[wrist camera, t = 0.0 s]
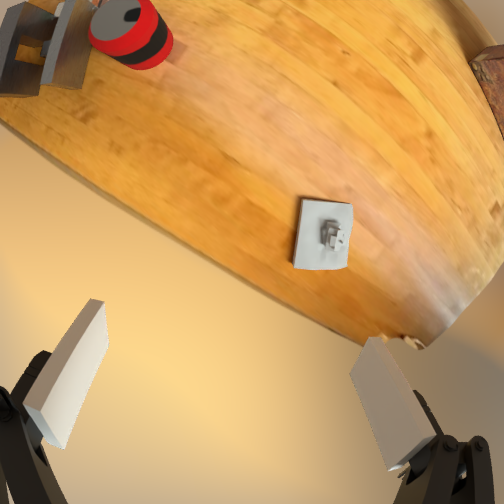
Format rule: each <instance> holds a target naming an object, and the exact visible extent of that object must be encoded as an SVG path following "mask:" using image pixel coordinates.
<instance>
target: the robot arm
mask: <svg viewBox="0 0 504 504" xmlns="http://www.w3.org/2000/svg"><path fill="white" fill-rule="evenodd" d="M108 347H109V340H108V332H107V323H106V314H105V303H104V302H103V301H99V300H94V299H90V300H89V301H88V302H87V304H86V305H85V307H84V308H83V309H82V311H81V312H80V313H79V315H78V316H77V318H76V319H75V320H74V322H73V323H72V325H71V326H70V328H69V329H68V331H67V332H66V333H65V335H64V336H63V338H62V339H61V341H60V342H59V344H58V345H57V347H56V348H55V350H54V351H53V353H50V352H47V351H44V350H43V351H41V352H40V353H38V354H37V355H36V356H34V358H33V359H32V361H31V362H30V364H29V366H28V367H27V368H26V370H25V371H24V374H22V376H21V377H20V379H19V381H18V382H17V384H16V386H15V387H14V389H13V390H12V392H11V394H9V392H8V391H7V390H6V389H5V388H4V387H1V386H0V504H9V499H8V493H7V486H6V482H7V485H8V488H9V490H10V493H11V496H12V498H13V501H14V503H15V504H68V503H67V501H66V499H65V497H64V495H63V493H62V491H61V489H60V487H59V485H58V483H57V480H56V478H55V476H54V474H53V471H52V469H51V467H50V464H49V462H48V459H47V457H46V454H45V452H44V449H43V446H42V445H41V440H42V438H43V437H44V438H45V440H46V441H47V442H48V443H49V444H51V445H53V446H56V447H58V448H60V449H63V450H64V449H65V446H66V444H67V441H68V438H69V436H70V433H71V430H72V428H73V426H74V423H75V420H76V418H77V416H78V413H79V411H80V408H81V406H82V404H83V401H84V399H85V397H86V394H87V392H88V390H89V387H90V385H91V383H92V381H93V379H94V376H95V374H96V372H97V370H98V367H99V366H100V363H101V361H102V359H103V357H104V355H105V353H106V351H107V348H108ZM350 376H351V379H352V381H353V384H354V386H355V388H356V391H357V393H358V396H359V398H360V400H361V403H362V405H363V408H364V410H365V413H366V415H367V418H368V420H369V423H370V425H371V428H372V431H373V433H374V436H375V438H376V441H377V443H378V446H379V449H380V451H381V454H382V457H383V459H384V462H385V465H386V467H387V470H388V471H390V470H394V469H397V468H400V467H402V466H403V465H404V464H405V463H407V462H408V461H409V463H410V466H409V467H408V468H406V469H405V470H404V471H403V472H402V473H400V474H399V476H398V478H400V477H401V476H403V475H404V474H405V475H404V477H403V478H402V480H403V481H402V483H401V486H400V489H399V491H398V493H397V496H396V498H395V501H394V503H393V504H495V501H494V485H493V474H492V466H491V459H490V452H489V446H488V443H487V441H486V440H485V439H484V438H483V437H481V436H474V437H473V438H472V439H471V440H470V441H469V442H458V441H457V440H456V439H455V438H454V437H453V436H450V435H444V433H443V432H442V430H441V428H440V426H439V425H438V423H437V421H436V419H435V417H434V415H433V414H432V412H431V410H430V408H429V407H428V406H427V403H426V401H425V400H424V398H423V396H422V395H421V394H419V393H418V392H417V391H416V390H412V389H411V387H410V385H409V384H408V382H407V380H406V379H405V377H404V375H403V374H402V372H401V370H400V368H399V367H398V365H397V363H396V362H395V360H394V358H393V357H392V355H391V353H390V352H389V350H388V349H387V347H386V345H385V344H384V342H383V340H382V339H381V337H369V338H368V340H367V342H366V344H365V346H364V348H363V350H362V351H361V353H360V355H359V357H358V359H357V361H356V363H355V364H354V367H353V368H352V370H351V372H350ZM465 472H466V477H465V478H464V479H462V474H464V473H465Z"/></svg>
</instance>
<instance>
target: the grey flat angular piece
mask: <svg viewBox="0 0 504 504" xmlns="http://www.w3.org/2000/svg"><path fill="white" fill-rule="evenodd" d="M352 224H353V207H352V204H347V203H339V202H330V201H322V200H312V199H303V198H302V200H301V208H300V215H299V222H298V229H297V236H296V243H295V249H294V256H293V262H292V264H293V267H294V268H299V269H308V270H320V269H340V268H344V267H347V257H348V249H349V238H350V234H351V230H352Z"/></svg>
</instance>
